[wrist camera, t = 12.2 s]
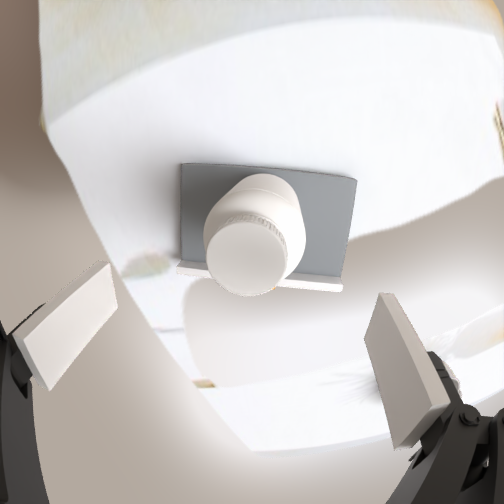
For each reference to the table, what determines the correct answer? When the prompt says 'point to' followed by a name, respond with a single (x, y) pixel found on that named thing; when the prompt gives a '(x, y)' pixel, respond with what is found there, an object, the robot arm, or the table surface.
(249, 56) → the table surface
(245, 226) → the pill bottle
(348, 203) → the shelf
